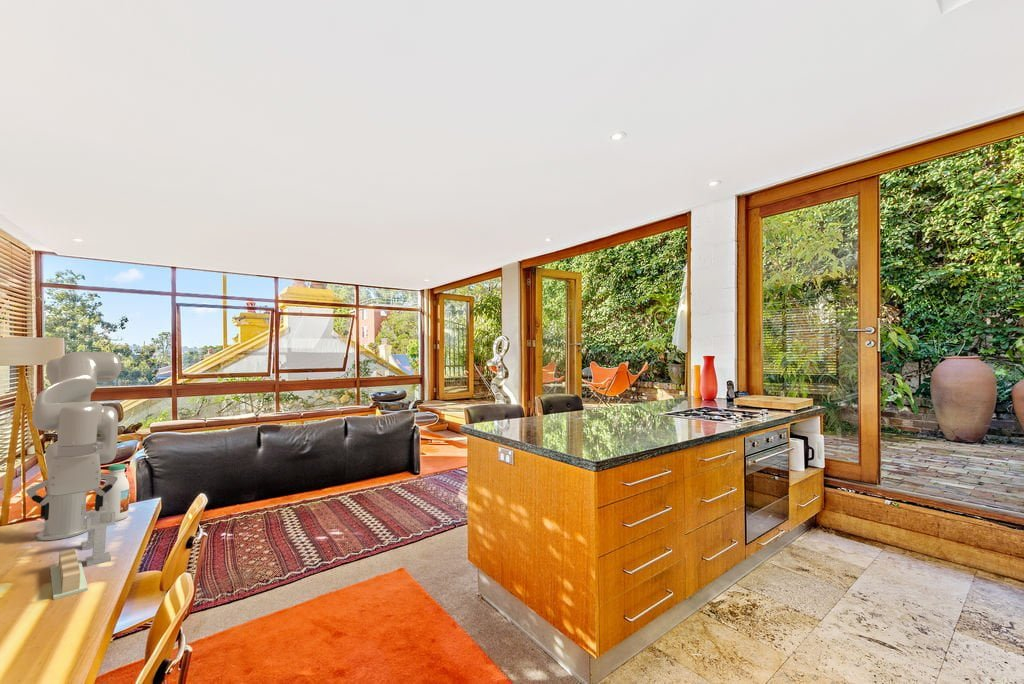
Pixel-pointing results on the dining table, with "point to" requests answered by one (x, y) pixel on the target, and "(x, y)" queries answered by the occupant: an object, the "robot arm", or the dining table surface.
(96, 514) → the post
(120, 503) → the milk bottle
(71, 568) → the rail
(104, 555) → the post
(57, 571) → the mat
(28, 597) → the dining table surface
